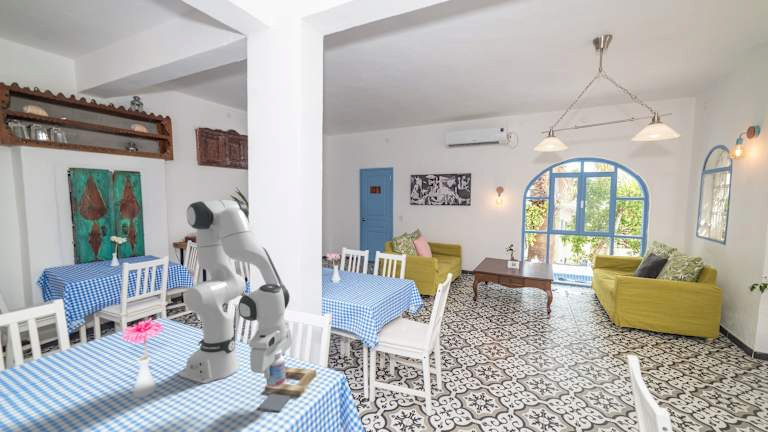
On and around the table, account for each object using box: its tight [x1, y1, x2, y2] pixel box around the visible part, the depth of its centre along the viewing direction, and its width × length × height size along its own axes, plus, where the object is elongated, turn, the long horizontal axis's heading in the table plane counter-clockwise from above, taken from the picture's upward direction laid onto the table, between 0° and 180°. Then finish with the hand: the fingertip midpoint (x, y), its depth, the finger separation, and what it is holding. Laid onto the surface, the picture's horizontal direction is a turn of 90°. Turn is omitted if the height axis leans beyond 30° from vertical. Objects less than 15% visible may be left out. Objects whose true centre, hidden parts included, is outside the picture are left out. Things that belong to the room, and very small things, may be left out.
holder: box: [264, 366, 317, 397], centre depth 120 cm, size 14×14×2 cm
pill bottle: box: [266, 349, 286, 387], centre depth 108 cm, size 6×6×11 cm
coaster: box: [257, 393, 292, 413], centre depth 108 cm, size 8×8×1 cm
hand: (274, 371), depth 108 cm, fingers closed on pill bottle, 6 cm apart
